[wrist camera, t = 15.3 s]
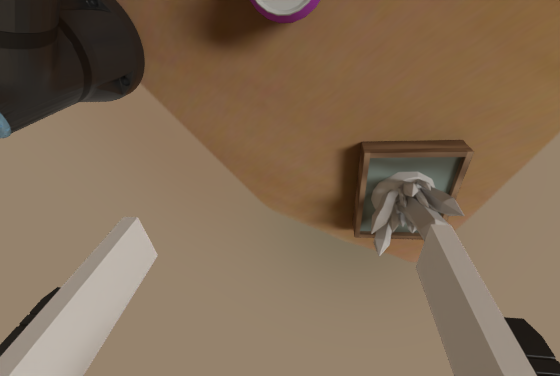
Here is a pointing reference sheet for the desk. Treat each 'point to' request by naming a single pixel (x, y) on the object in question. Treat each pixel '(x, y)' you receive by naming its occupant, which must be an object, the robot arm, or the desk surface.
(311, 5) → the beverage can
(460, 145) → the wooden tray
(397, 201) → the crystal
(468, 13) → the desk surface
